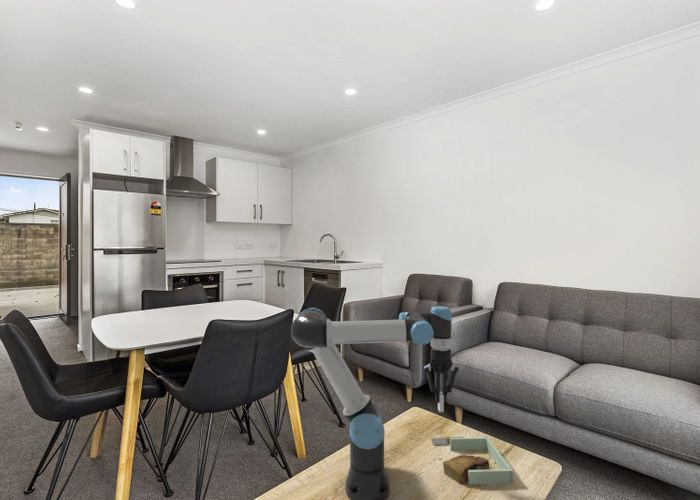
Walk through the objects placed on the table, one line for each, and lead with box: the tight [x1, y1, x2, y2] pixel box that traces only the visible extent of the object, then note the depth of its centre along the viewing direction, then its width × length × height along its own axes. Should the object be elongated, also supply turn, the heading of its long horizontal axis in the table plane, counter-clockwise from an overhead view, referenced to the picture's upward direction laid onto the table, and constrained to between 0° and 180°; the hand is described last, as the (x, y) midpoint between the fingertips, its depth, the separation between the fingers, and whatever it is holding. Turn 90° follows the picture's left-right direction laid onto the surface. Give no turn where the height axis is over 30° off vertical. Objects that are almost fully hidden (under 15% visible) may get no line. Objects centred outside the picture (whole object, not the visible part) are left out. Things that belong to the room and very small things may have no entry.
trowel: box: [430, 436, 466, 446], centre depth 152 cm, size 14×4×2 cm, turn 91°
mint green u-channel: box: [449, 436, 514, 486], centre depth 137 cm, size 16×22×4 cm
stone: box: [442, 454, 490, 485], centre depth 132 cm, size 15×9×5 cm, turn 111°
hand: (440, 410), depth 136 cm, fingers closed
